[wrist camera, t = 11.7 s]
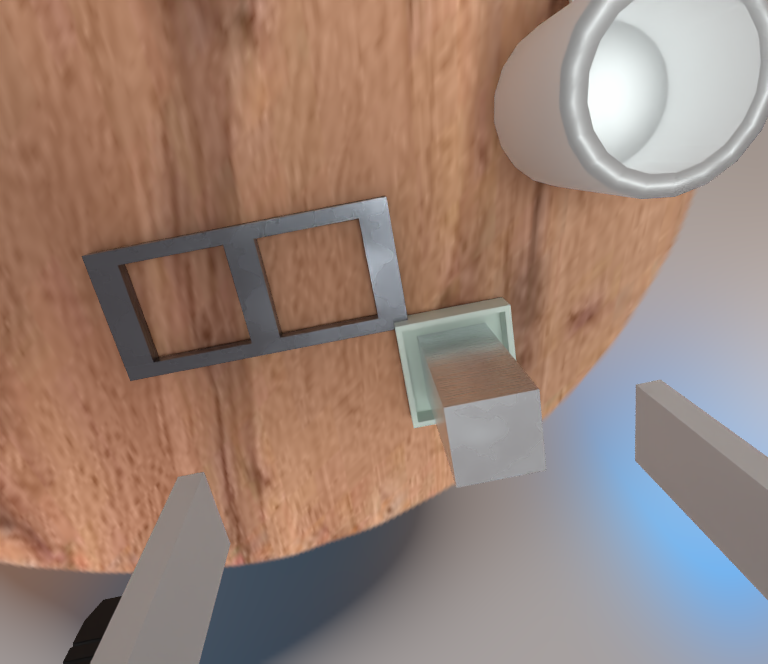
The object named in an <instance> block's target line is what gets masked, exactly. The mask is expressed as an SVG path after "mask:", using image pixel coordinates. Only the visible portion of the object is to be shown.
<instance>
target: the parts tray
mask: <svg viewBox="0 0 768 664" xmlns="http://www.w3.org/2000/svg"><path fill="white" fill-rule="evenodd" d="M407 318H408V320H405V321H400V322H395V323H394V326H395V333H396V338H397V344H398V349H399V354H400V360H401V365H402V370H403V376H404V381H405V386H406V392H407V397H408V402H409V408H410V413H411V418H412V422H413V426H414V428H418V427H423V426H428V425H433V424H436V422H435V419H434V416H433V413H432V410H431V407H430V404H429V400H428V397H427V392H426V386H425V380H424V374H423V368H422V363H421V357H420V351H419V345H418V339H417V336H419V335H424V334H430V333H435V332H440V331H445V330H450V329H455V328H460V327H466V326H471V325H476V324H481V323H486V324H487V326H488V327H489V328H490V329H491V331H492V332H493V333H494V334H495V335H496V337H497V338H498V339H499V340H500V342H501V343H502V344H503V345H504V347H505V348H506V349H507V350H508V351H509V353H510V354H511V355H512V356H513V358H514V359H515V360H516V356H515V346H514V336H513V326H512V317H511V307H510V304H509V303H508V302H507V301H506V300H505V299H503V298H502V297H500V298H495V299H490V300H485V301H479V302H474V303H469V304H464V305H459V306H454V307H449V308H444V309H438V310H433V311H428V312H423V313H418V314H413V315H408V316H407Z"/></svg>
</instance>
